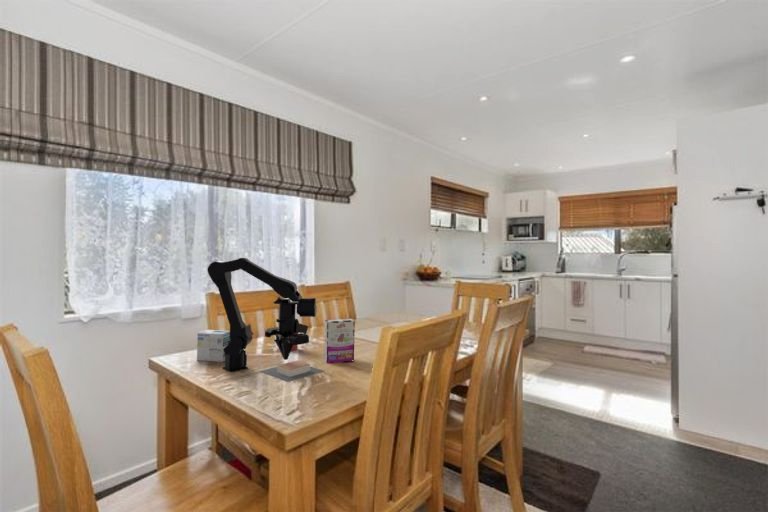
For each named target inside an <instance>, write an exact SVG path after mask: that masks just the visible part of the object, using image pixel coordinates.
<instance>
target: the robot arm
mask: <svg viewBox="0 0 768 512" xmlns="http://www.w3.org/2000/svg"><path fill="white" fill-rule="evenodd" d="M206 270H207V273H208V275H209V278H210V280H211V281H212V282H213V284H214V285H215V286H216V287H217V289H218V292H219V296H220V298H221V302H222V305H223V308H224V311H225V314H226V315H225V316H226V317H227V320H228V324H229V331H230V343H229V344H228V345H227V346H226V347H225V348H224V349H223V350H224V353H225V361H224V366H222V369H223V370H225V371H227V372H229V373H235V372H239V371H242V370H247V369H249V367H248V366H247V361H248V359H247V358H248V356H247V350H245V349H246V348H247V347H248V346H249V345H250V344H251V342H252V341H253V335H254V332H253V331H252V328H251V327H252V325H251V324H250V323H248V324H246V323H245V322H244V321H243V317H242V314H241V312H240V308H239V305H238V302H237V301H238V300H237V299H236V295H235V292H234V290H233V289H234V288H233V286H232V276H233V275H232V272H235V271H239V270H241V271H243V272H245V273H247V274H249V275H250V276H252V277H254V278H256V279H258V280H259V281H261V282H263V283H265V284H266V285H268V286H269V287H270V288H271V289H272V290H273V291H274V292H276V293H277V294H278V295H279V296H278V297H277V299H276V300H274V301H273V304H274V305H278V318H276V320H275V321H276V323H278V326H275V327H270V328H269V327H268V328H266V330H265V331H264V337H266V338H271V337H272V336H275V338H274V340H273V341H274V342H275V344H276V345H277V349H279V352H280V354H281V357H282V358H283V360H284V361H286V360H288V359H289V356H290V355H291V352H292V351H291V349H292V347H293V345H298V346H299V345H304V344H309V343H310V336H309V335H308V334H307V332H308V330H309V325H306V324H302V323H299V319H298V318H296V314H297V315H299V317H300V318H301V317H304V318H306V317H308V318H317V317H316V316H317V311H318V310H317V309H318V308H317V307H318V306H317V298H316V297H310V298H309V297H307V298H306V297H303V296H302V295H301V294H300V291H299V290H298V286H297V284H296V283H295V282H294V281H293V280H290V279H286V278H283V277H279V276H277V275H275V274H273V273H271V272H270V271H268V270H267V269H264V268H263V267H261V266H259V265H258V264H256V263H254V262H252V261H251V260H249V259H248V258H247V257H240V258H239V257H238V258H237V259H233V260H230V261H224V260H221V261H213V262H211V263H209V265H208V267H207V269H206ZM295 333H296V334H295ZM297 333H298V334H297Z"/></svg>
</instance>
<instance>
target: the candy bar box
mask: <svg viewBox="0 0 768 512" xmlns="http://www.w3.org/2000/svg"><path fill="white" fill-rule="evenodd" d="M355 324H356V322H355V319H354V318H339V319H337V318H335V319H324V349H323V350H324V356H323V357H324V358H323V359H324V362H325V363H326V364H333V363H334V362H337V363H344V362H343V361H352V360H354V361H355ZM334 364H335V363H334Z"/></svg>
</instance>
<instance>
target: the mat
mask: <svg viewBox="0 0 768 512" xmlns="http://www.w3.org/2000/svg"><path fill="white" fill-rule="evenodd" d="M259 372H260V373H263V374H265V375H268V376H270V377H273V378H276V379H279V380H280V381H284V382H286V383H290V382H294V381H297V380H299V379H303V378H306V377H310V376H313V375H314V376H315V375H316V374H319V373H323V372H325V370H322V369H319V368H316V367H312V366H310V371H308V372H305V373H301V374H298V375H295V376H291V377H288V376H286V375H283V374H280V373H277V366H274V367H271V368H267V369H263V370H260V371H259Z"/></svg>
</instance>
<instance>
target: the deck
mask: <svg viewBox="0 0 768 512" xmlns="http://www.w3.org/2000/svg"><path fill="white" fill-rule="evenodd" d="M276 367H277V373H280V374H283V375H286V376H288V377H291V376H295V375H298V374H301V373H305V372H308V371H310V367H311V364H310V363H308V362H304V361H302V360H298V359H297V360H293V361H290V362H286V363H282V364H278V365H277V366H276Z"/></svg>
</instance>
